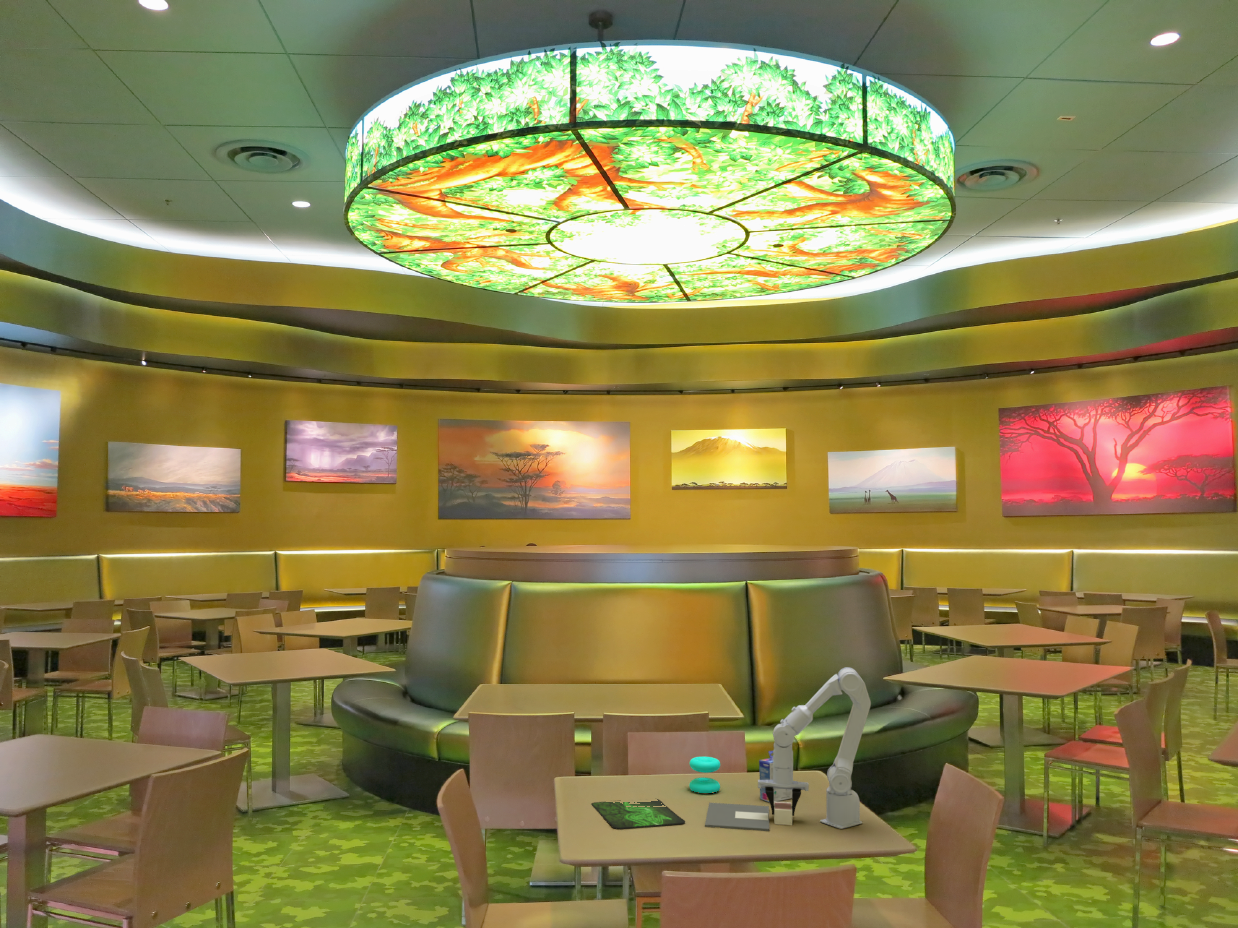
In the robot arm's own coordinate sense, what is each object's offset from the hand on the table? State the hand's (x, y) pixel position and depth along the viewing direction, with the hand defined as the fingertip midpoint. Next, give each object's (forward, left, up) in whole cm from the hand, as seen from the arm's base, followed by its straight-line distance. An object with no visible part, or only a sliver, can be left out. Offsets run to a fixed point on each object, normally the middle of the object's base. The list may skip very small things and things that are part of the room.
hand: (782, 814), depth 266 cm
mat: (+9, -9, -2) cm, 13 cm away
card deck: (0, 0, -2) cm, 2 cm away
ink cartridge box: (-14, -17, -2) cm, 22 cm away
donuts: (-1, -36, -2) cm, 36 cm away
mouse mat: (+32, -29, -2) cm, 43 cm away
